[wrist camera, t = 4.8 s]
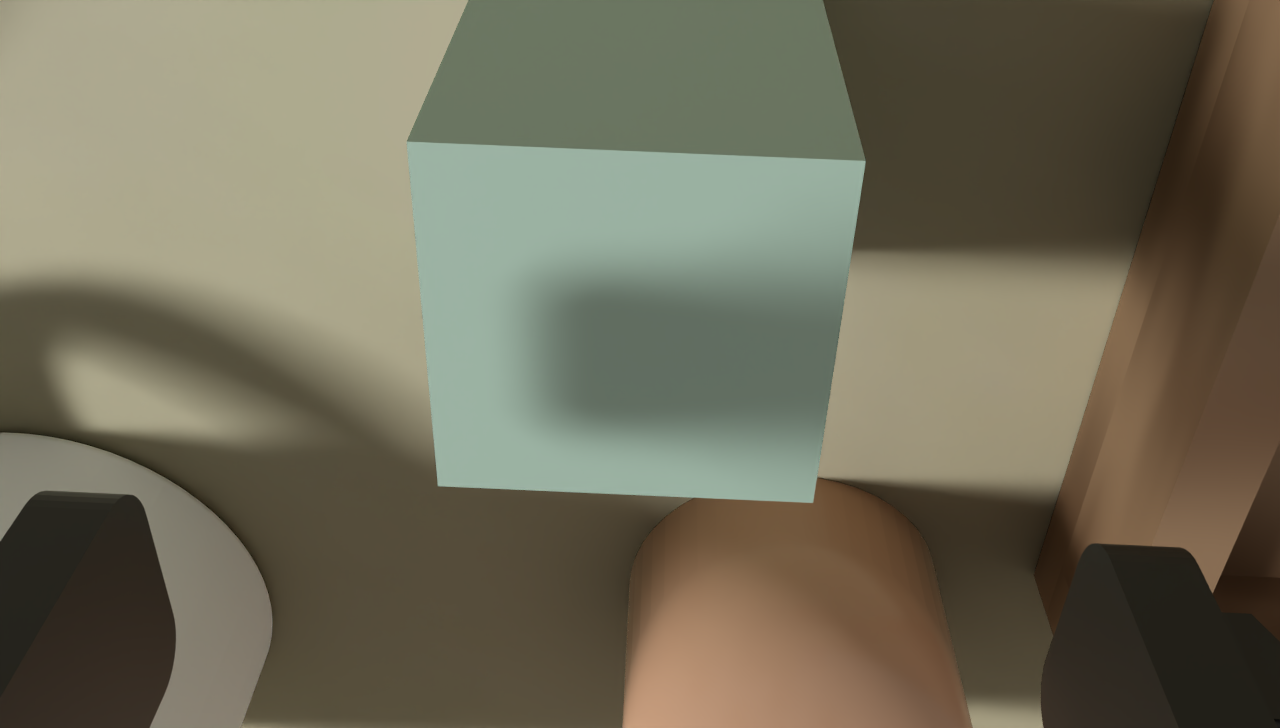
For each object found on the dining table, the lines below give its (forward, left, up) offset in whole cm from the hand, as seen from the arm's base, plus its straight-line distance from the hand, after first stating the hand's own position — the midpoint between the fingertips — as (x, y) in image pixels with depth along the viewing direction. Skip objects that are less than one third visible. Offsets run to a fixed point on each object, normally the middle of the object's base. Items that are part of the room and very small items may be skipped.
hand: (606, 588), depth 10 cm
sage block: (0, 0, -9) cm, 9 cm away
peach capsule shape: (+10, +3, -9) cm, 14 cm away
